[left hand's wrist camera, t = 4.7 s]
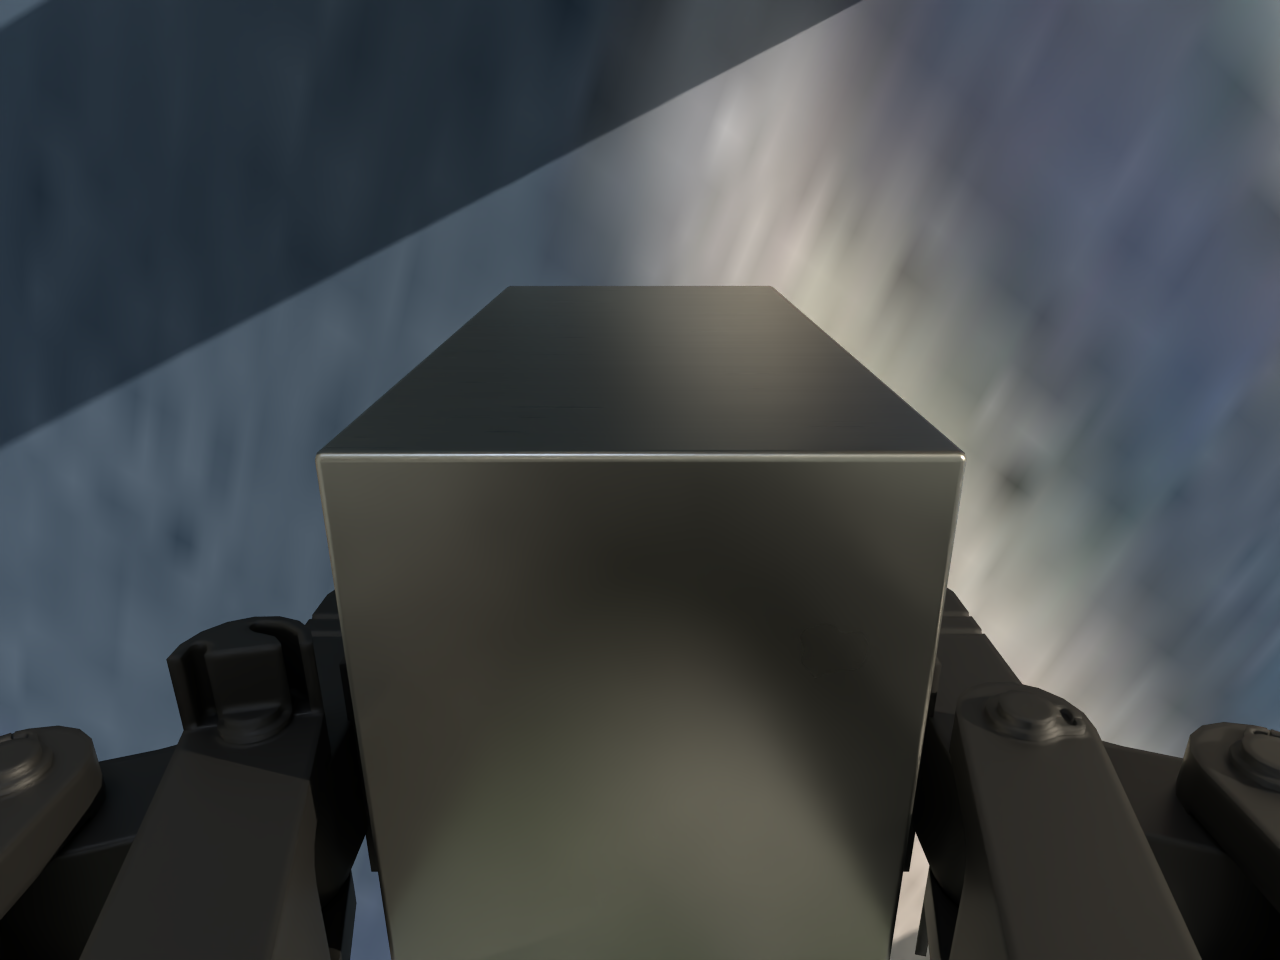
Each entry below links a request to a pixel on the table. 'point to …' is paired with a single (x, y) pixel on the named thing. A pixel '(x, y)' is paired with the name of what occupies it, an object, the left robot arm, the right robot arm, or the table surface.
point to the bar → (640, 630)
